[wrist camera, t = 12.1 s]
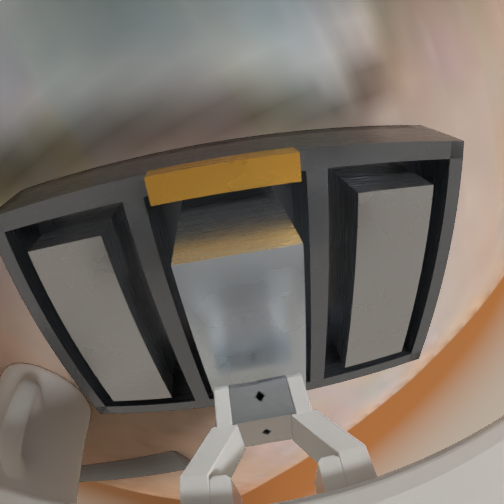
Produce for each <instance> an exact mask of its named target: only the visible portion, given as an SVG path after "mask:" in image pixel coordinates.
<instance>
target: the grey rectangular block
mask: <svg viewBox="0 0 504 504" xmlns="http://www.w3.org/2000/svg"><path fill="white" fill-rule="evenodd" d="M171 267H172V271H173V274H174V277H175V281H176V284H177V287H178V291H179V294H180V297H181V300H182V304H183V307H184V310H185V313H186V316H187V319H188V322H189V325H190V329H191V332H192V335H193V338H194V340H195V343H196V346H197V349H198V352H199V355H200V358H201V361H202V364H203V366H204V369H205V372H206V375H207V377H208V380H209V383H210V386H211V388H212V391H213V394H214V387H217V386H224V385H233V384H240V383H247V382H254V381H257V380H262V379H267V378H272V377H277V376H282V375H285V376H286V375H289V374H294V373H298V372H300V374H301V375H302V378H303V381H304V385H305V388H306V315H305V275H304V249H303V242H302V240H301V238H300V237H299V235H298V233H297V231H296V229H295V228H294V226H293V224H292V222H291V220H290V219H289V217H288V215H287V213H286V212H285V210H284V208H283V206H282V204H281V203H280V201H279V199H278V197H277V196H276V194H275V192H274V190H273V189H272V187H271V186H265V187H259V188H252V189H245V190H239V191H233V192H227V193H221V194H215V195H209V196H203V197H197V198H192V199H186V200H182V204H181V210H180V215H179V221H178V226H177V232H176V238H175V244H174V250H173V256H172V263H171Z"/></svg>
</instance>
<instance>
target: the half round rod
mask: <svg viewBox="0 0 504 504" xmlns="http://www.w3.org/2000/svg"><path fill="white" fill-rule="evenodd" d="M190 461H191V460H189V459H187V458H186V457H184V456H182V455H180V454H179V453H177V452H175V451H169V452H165V453H160V454H155V455H150V456H145V457H139V458H133V459H127V460H121V461H114V462H107V463H99V464H91V465H81V471H80V478H79V482H83V481H102V480H114V479H125V478H134V477H142V476H149V475H156V474H162V473H168V472H174V471H179V470H185V469H186V467H187V466H188V464H189V463H190Z"/></svg>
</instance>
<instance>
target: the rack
mask: <svg viewBox="0 0 504 504" xmlns="http://www.w3.org/2000/svg"><path fill="white" fill-rule="evenodd" d="M463 148H464V141H463V140H460V139H457V138H455V137H452V136H449V135H447V134H444V133H441V132H438V131H436V130H433V129H430V128H427V127H424V126H421V125H394V126H362V127H343V128H328V129H315V130H304V131H294V132H284V133H275V134H267V135H259V136H252V137H244V138H237V139H231V140H224V141H218V142H212V143H206V144H200V145H195V146H189V147H184V148H179V149H174V150H169V151H164V152H159V153H154V154H150V155H145V156H141V157H136V158H132V159H128V160H124V161H120V162H116V163H112V164H108V165H104V166H100V167H96V168H93V169H89V170H85V171H82V172H78V173H75V174H71V175H68V176H65V177H61V178H58V179H55V180H51V181H48V182H45V183H42V184H39V185H36V186H33V187H30V188H27V189H24V190H21V191H20V192H19V193H17V194H16V195H15V196H14V197H12V198H11V199H10V200H9V201H7V202H6V203H5V204H4V205H2V206H1V207H0V255H1V257H2V259H3V261H4V263H5V265H6V268H7V270H8V272H9V274H10V276H11V278H12V280H13V282H14V284H15V286H16V288H17V290H18V292H19V293H20V295H21V297H22V299H23V301H24V303H25V305H26V306H27V308H28V310H29V312H30V313H31V315H32V317H33V319H34V320H35V322H36V324H37V325H38V327H39V329H40V330H41V332H42V334H43V335H44V337H45V338H46V340H47V342H48V343H49V345H50V346H51V348H52V349H53V351H54V352H55V354H56V355H57V357H58V358H59V360H60V361H61V363H62V364H63V366H64V367H65V368H66V370H67V371H68V373H69V374H70V375H71V377H72V378H73V380H74V381H75V382H76V384H77V385H78V386H79V388H80V389H81V390H82V392H83V393H84V394H85V395H86V397H87V398H88V399H89V401H90V402H91V403H92V404H93V406H94V407H95V408H96V409H97V411H98V412H99V413H100V414H115V413H143V412H160V411H173V410H185V409H195V408H204V407H212V406H215V405H214V394H213V391H212V388H211V386H210V383H209V380H208V377H207V375H206V372H205V369H204V366H203V364H202V361H201V358H200V355H199V352H198V349H197V346H196V343H195V340H194V338H193V335H192V332H191V329H190V325H189V322H188V319H187V316H186V313H185V310H184V307H183V304H182V300H181V297H180V294H179V291H178V287H177V284H176V281H175V277H174V274H173V271H172V267H171V263H172V256H173V250H174V244H175V238H176V232H177V226H178V221H179V215H180V210H181V204H182V200H186V199H192V198H197V197H203V196H209V195H215V194H221V193H227V192H233V191H239V190H245V189H252V188H259V187H265V186H271V187H272V189H273V190H274V192H275V194H276V196H277V197H278V199H279V201H280V203H281V204H282V206H283V208H284V210H285V212H286V213H287V215H288V217H289V219H290V220H291V222H292V224H293V226H294V228H295V229H296V231H297V233H298V235H299V237H300V238H301V240H302V242H303V249H304V275H305V315H306V390H310V389H314V388H319V387H323V386H327V385H331V384H335V383H339V382H343V381H347V380H351V379H354V378H358V377H362V376H365V375H369V374H372V373H375V372H379V371H382V370H385V369H388V368H392V367H395V366H398V365H401V364H404V363H407V362H410V361H413V360H416V359H419V356H420V354H421V351H422V348H423V345H424V342H425V339H426V336H427V333H428V330H429V327H430V323H431V320H432V317H433V313H434V310H435V307H436V303H437V299H438V296H439V292H440V288H441V284H442V280H443V276H444V272H445V268H446V263H447V259H448V254H449V250H450V245H451V240H452V234H453V229H454V223H455V217H456V211H457V204H458V197H459V189H460V181H461V172H462V161H463Z"/></svg>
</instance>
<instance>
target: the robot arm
mask: <svg viewBox="0 0 504 504" xmlns="http://www.w3.org/2000/svg"><path fill="white" fill-rule="evenodd" d="M214 405H215V419H216V427H212V428H211V430H210V431H209V433H208V435H207V436H206V438H205V439H204V441H203V442H202V444H201V446H200V447H199V449H198V450H197V452H196V453H195V455H194V456H193V458H192V460H191V461H190V463H189V464H188V466H187V467H186V469H185V470H184V472H183V473H182V475H181V476H180V498H181V504H243V503H242V497H241V495H240V493H239V492H238V490H237V488H236V487H235V485H234V483H233V481H232V480H231V477H232V475H233V473H234V471H235V469H236V467H237V465H238V463H239V461H240V459H241V457H242V455H243V453H244V451H245V447H248V446H254V445H260V444H265V443H270V442H277V441H283V440H288V439H293V441H294V442H295V443H297V444H298V445H299V446H300V447H301V448H302V449H303V450H304V451H305V452H306V453H307V454H308V455H309V456H310V457H312V458H313V459H314V460H315V461H316V462H317V463H318V467H317V472H316V478H315V487H316V491H317V494H316V495H313V496H308V497H303V498H299V499H294V500H288V501H283V502H278V503H272V504H504V416H502V417H501V418H499V419H498V420H496V421H494V422H493V423H491V424H489V425H488V426H486V427H484V428H483V429H481V430H479V431H478V432H476V433H474V434H472V435H470V436H468V437H467V438H465V439H463V440H461V441H459V442H457V443H455V444H453V445H451V446H449V447H447V448H445V449H443V450H441V451H439V452H437V453H435V454H433V455H430V456H428V457H426V458H424V459H421V460H419V461H417V462H414V463H412V464H410V465H407V466H405V467H402V468H400V469H397V470H395V471H392V472H389V473H386V474H384V475H381V476H378V477H377V475H376V472H375V470H374V467H373V464H372V462H371V459H370V456H369V454H368V451H367V448H366V446H365V445H364V444H363V443H362V442H360V441H359V440H358V439H356V438H355V437H353V436H352V435H350V434H349V433H348V432H346V431H345V430H344V429H342V428H341V427H340V426H338V425H337V424H335V423H334V422H333V421H331V420H330V419H329V418H327V417H326V416H325V415H323V414H322V413H321V412H319V411H318V410H317V409H316V410H312V407H311V404H310V401H309V398H308V394H307V391H306V388H305V385H304V381H303V378H302V375H301V374H300V372H298V373H294V374H289V375H286V376H285V375H282V376H277V377H272V378H267V379H262V380H257V381H254V382H247V383H240V384H233V385H224V386H217V387H214ZM0 504H74V503H68V502H63V501H58V500H53V499H48V498H44V497H39V496H35V495H31V494H27V493H24V492H20V491H16V490H13V489H9V488H6V487H3V486H0Z"/></svg>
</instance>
